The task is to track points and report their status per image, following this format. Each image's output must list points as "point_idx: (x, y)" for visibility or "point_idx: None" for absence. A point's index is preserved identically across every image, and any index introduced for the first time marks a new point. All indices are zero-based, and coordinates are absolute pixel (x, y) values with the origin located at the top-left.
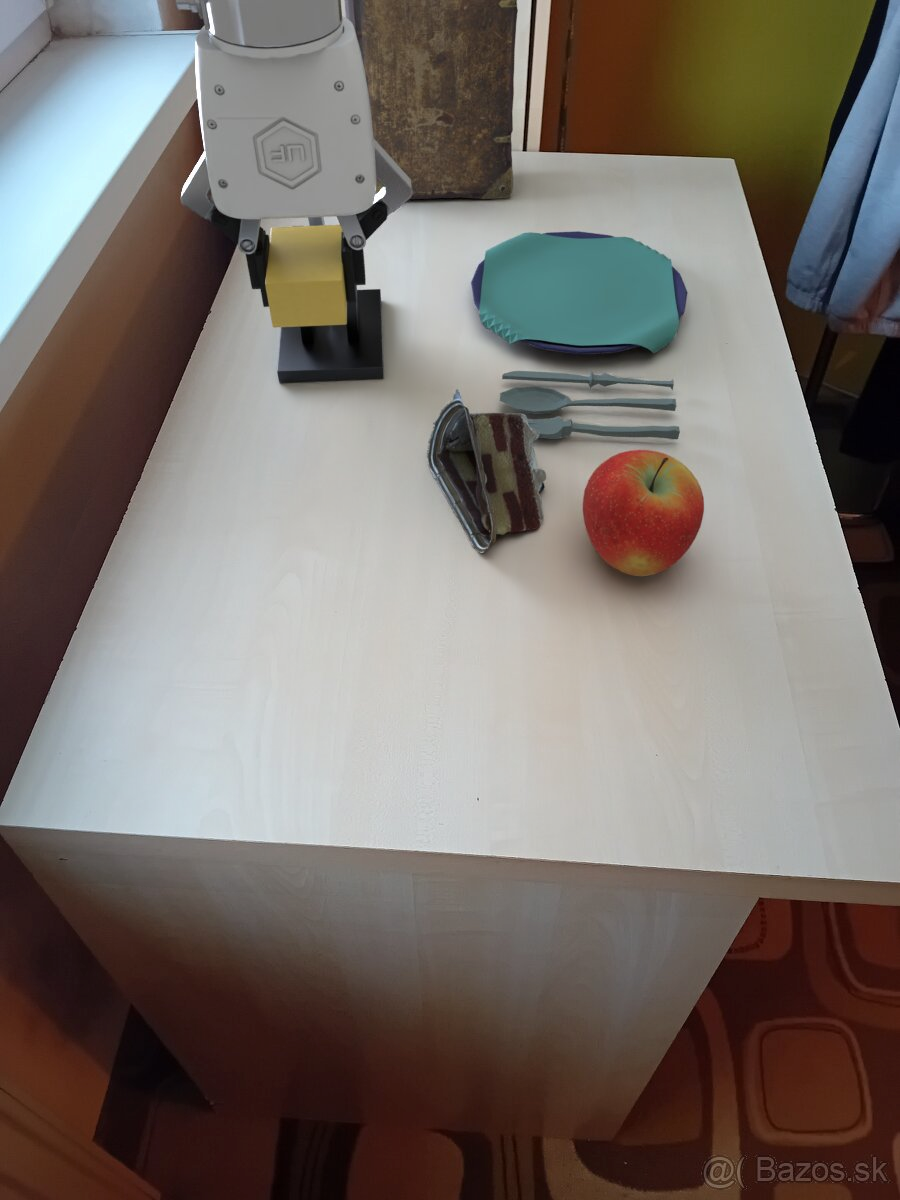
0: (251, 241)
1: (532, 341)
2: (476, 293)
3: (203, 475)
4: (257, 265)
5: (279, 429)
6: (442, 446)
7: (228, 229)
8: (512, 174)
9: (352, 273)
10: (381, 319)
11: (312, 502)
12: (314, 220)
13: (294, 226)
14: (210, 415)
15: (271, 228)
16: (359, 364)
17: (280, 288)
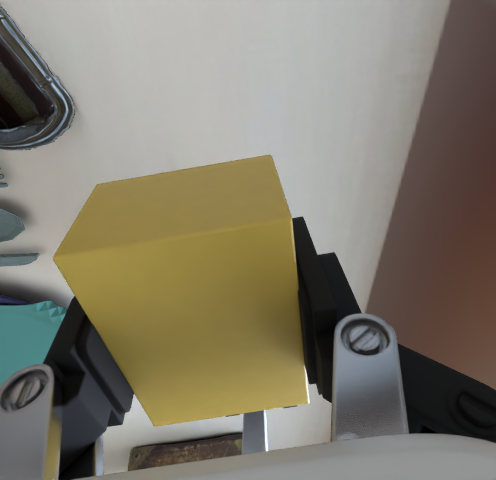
0: (353, 351)
1: (18, 303)
2: None
3: (368, 51)
4: (325, 286)
5: (281, 150)
6: (49, 120)
7: (437, 381)
8: (128, 470)
9: (73, 302)
10: None
11: (210, 5)
12: (254, 420)
13: (294, 406)
14: (366, 165)
15: (308, 400)
16: None
17: (245, 214)
